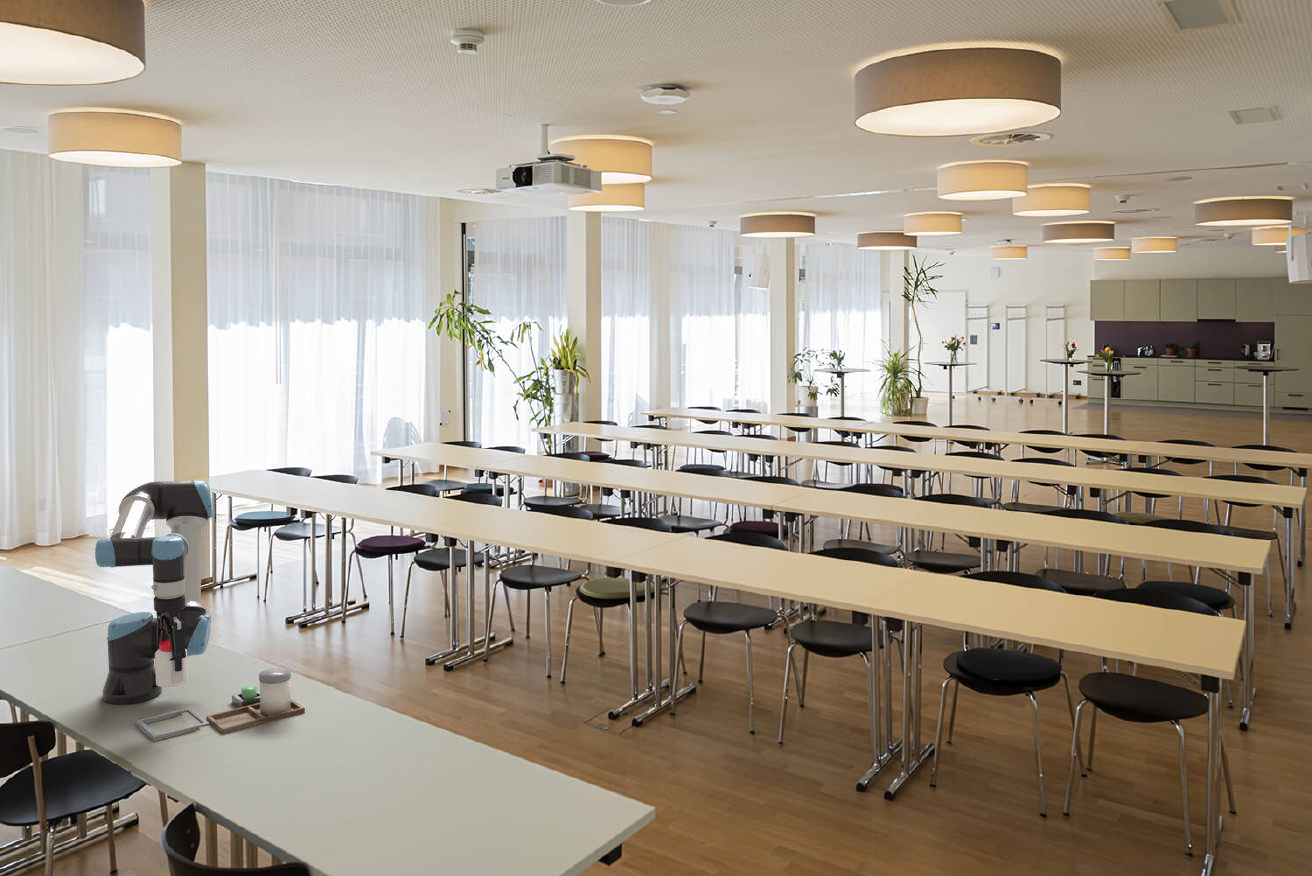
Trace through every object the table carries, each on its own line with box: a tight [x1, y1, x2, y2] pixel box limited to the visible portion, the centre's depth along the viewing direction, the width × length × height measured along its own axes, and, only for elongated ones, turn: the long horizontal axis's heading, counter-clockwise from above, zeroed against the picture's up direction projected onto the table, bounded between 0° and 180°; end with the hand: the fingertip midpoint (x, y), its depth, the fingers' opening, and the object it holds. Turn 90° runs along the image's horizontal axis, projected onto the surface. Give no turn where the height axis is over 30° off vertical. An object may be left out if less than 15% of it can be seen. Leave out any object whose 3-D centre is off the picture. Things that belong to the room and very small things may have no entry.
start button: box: [241, 685, 258, 700], centre depth 282 cm, size 4×4×4 cm
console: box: [231, 689, 260, 708], centre depth 282 cm, size 7×7×3 cm
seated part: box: [258, 667, 292, 716], centre depth 276 cm, size 8×8×11 cm
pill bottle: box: [154, 640, 189, 688], centre depth 265 cm, size 8×8×11 cm
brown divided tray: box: [205, 698, 306, 735], centre depth 273 cm, size 12×22×2 cm, turn 134°
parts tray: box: [135, 707, 211, 742], centre depth 267 cm, size 14×14×1 cm
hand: (171, 677), depth 266 cm, fingers closed on pill bottle, 8 cm apart
